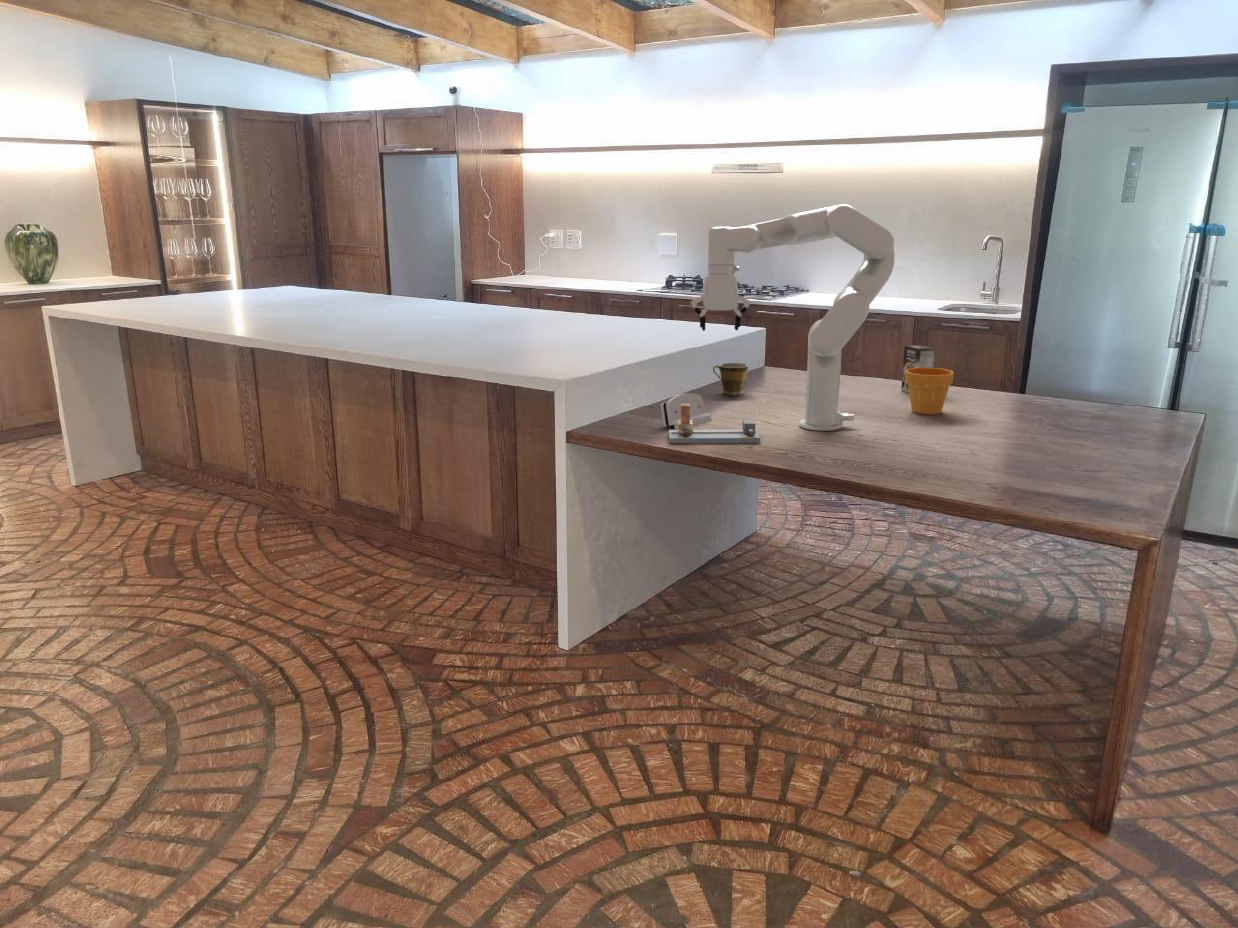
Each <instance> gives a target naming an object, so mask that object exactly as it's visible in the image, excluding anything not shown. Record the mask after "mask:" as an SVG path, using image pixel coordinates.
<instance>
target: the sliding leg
mask: <svg viewBox="0 0 1238 928" xmlns="http://www.w3.org/2000/svg"><path fill="white" fill-rule="evenodd" d="M677 430H678V432H679V433H682V432H684V434H685V436H687V434H688V432H693V430H694V425H693V423H692V420H690V404H681V420H678V429H677Z"/></svg>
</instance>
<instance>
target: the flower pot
mask: <svg viewBox="0 0 1238 928" xmlns="http://www.w3.org/2000/svg"><path fill="white" fill-rule="evenodd" d="M953 381H954V371H952V370H949V369H945V368H939V367H933V368H911V369H908V370H906V377H905V382H906V383H907V384H908V388H909V393H908V394H909V400H910V406H911V412H913V413H914V414H919V415H921V414H922V415H938V414H941V413H942V411H943V408H944V406H945V401H946V397H947V395H948V391H949V390H950V389H949V388H950V387H951V385H953Z"/></svg>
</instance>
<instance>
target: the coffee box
mask: <svg viewBox="0 0 1238 928" xmlns="http://www.w3.org/2000/svg"><path fill="white" fill-rule="evenodd" d="M935 352H936V348H934V347H929V346H924V345H921V344H908V345H907V344H906V345H904V349H903V362H902V373H901V375H902V377H901V387H900V388H901V392H905V393H908V394H909V388H908V384H907V383H906V382H905V377H906V370H908V369H911V368H934V364H935V363H934V362H935V354H936V353H935Z"/></svg>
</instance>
